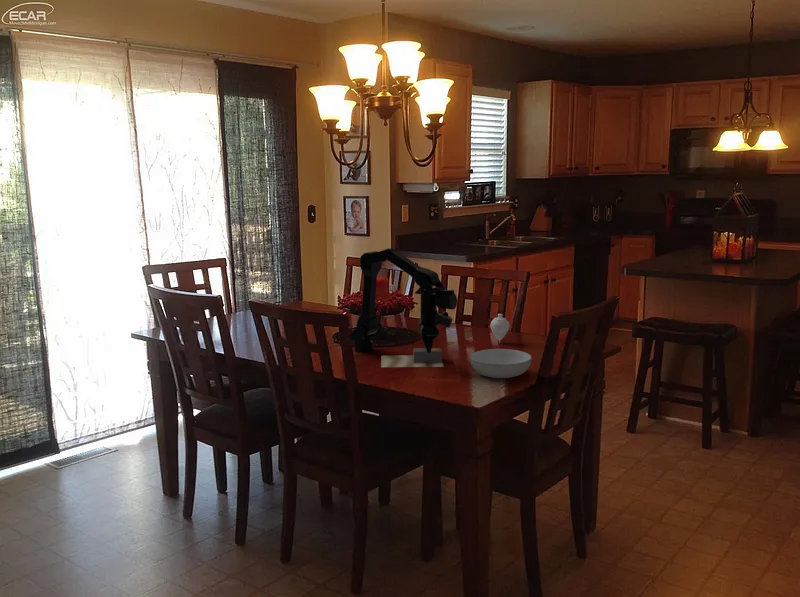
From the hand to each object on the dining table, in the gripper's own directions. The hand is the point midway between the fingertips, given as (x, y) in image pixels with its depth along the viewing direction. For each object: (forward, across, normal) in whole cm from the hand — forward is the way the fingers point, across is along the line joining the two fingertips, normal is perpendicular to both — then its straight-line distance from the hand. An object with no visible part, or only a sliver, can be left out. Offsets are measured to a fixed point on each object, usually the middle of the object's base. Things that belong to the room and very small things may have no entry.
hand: (428, 349), depth 261 cm
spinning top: (+6, +32, -31) cm, 45 cm away
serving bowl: (+6, -14, -24) cm, 28 cm away
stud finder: (+4, 0, 0) cm, 4 cm away
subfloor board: (+6, 0, +6) cm, 8 cm away
